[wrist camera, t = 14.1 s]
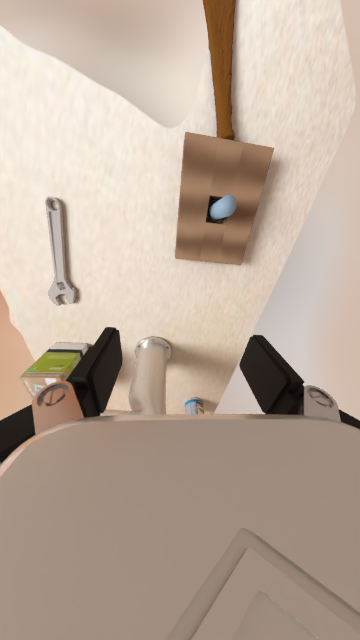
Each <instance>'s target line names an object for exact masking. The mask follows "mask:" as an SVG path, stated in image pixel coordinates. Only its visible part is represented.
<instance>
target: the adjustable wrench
mask: <svg viewBox="0 0 360 640" xmlns="http://www.w3.org/2000/svg"><path fill="white" fill-rule="evenodd" d="M52 200H54V201H56V202H57V204H58V210H54V209H53V208H52V206H51V201H52ZM45 203H46V211H47V219H48V226H49V234H50V242H51V250H52V257H53V265H54V273H55V277H54V281H53V284H52V286H51V287H50V289H49V291H48V295H49V298H50V299H51V301H52V302H53V303H55V304H56V305H59V306H60V305H61V304H62V302H61V301H60V299H59V297H58V296H59V295H60V294H65V295H67V296H66V299H67V301H68V303H69V304H72V303H73V302H74V301H75V299H76V291H77V290H76V289H75V287H72V286H71V284H70V283H69V281H68V279H67V275H66V259H65V243H64V227H63V211H62V205H61V203H60V201H59V200H58V199H56V198H53V197H47V198H46V200H45ZM60 282H62V283H60Z"/></svg>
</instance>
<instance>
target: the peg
mask: <svg viewBox="0 0 360 640" xmlns="http://www.w3.org/2000/svg"><path fill="white" fill-rule="evenodd" d="M236 205H237V203H236V199H235V198H234V196H232V195H226V196H224V197H223V198H221V199H220V200H218V201H217V202H215V203H214V204H212V205H211V206H210V207H209V208H208V210H207V217H208V219H209V220H212V221H214V220H217V219H221V218H224V217H228V216H230V215H232V214H233V213H234V211H235V209H236Z"/></svg>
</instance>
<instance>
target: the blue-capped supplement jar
mask: <svg viewBox="0 0 360 640" xmlns="http://www.w3.org/2000/svg"><path fill="white" fill-rule="evenodd" d="M185 409H186V414H204V410H203V404H202V401H201V400H200V399H198V398H190V399H188V400H187V401H186V402H185Z"/></svg>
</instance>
